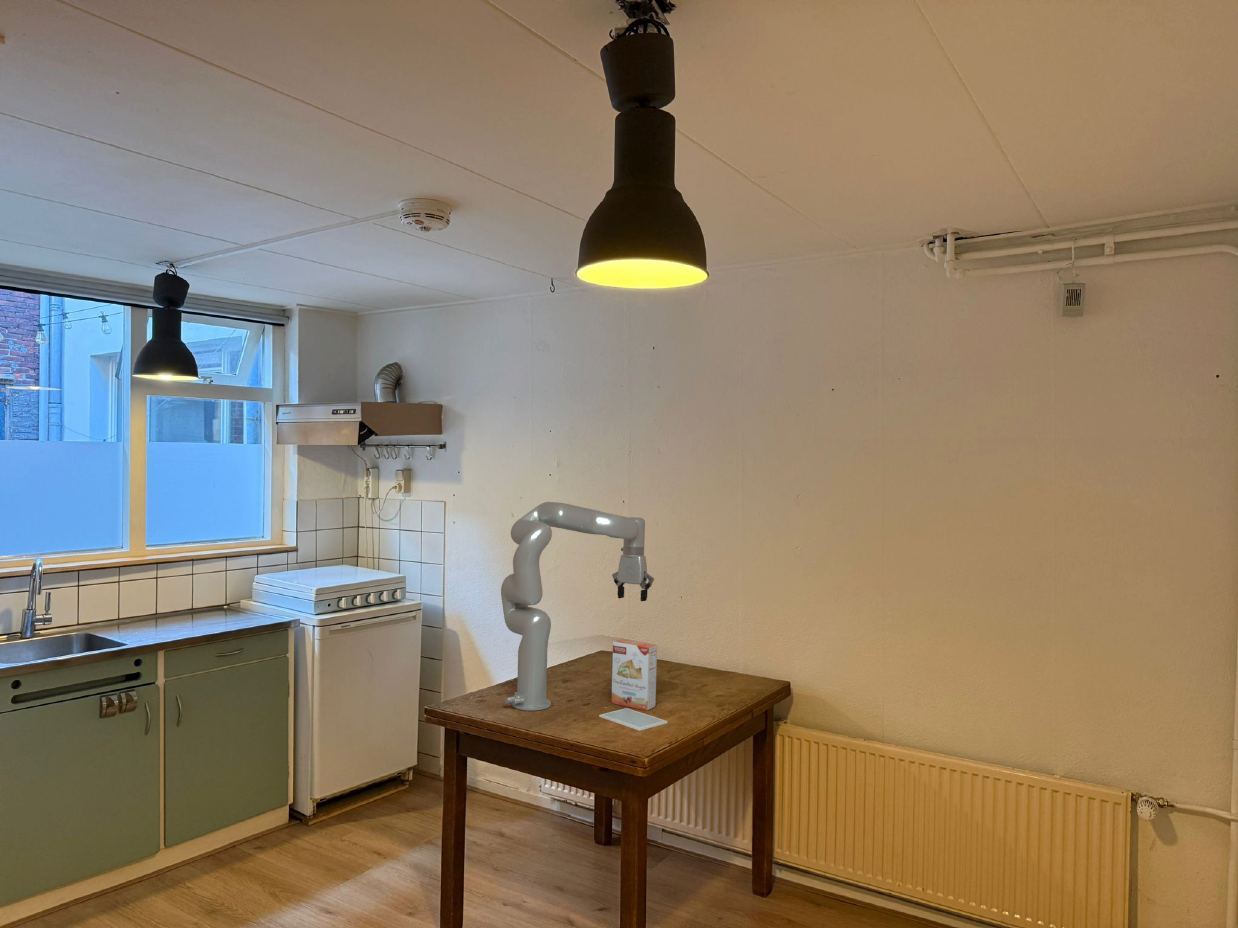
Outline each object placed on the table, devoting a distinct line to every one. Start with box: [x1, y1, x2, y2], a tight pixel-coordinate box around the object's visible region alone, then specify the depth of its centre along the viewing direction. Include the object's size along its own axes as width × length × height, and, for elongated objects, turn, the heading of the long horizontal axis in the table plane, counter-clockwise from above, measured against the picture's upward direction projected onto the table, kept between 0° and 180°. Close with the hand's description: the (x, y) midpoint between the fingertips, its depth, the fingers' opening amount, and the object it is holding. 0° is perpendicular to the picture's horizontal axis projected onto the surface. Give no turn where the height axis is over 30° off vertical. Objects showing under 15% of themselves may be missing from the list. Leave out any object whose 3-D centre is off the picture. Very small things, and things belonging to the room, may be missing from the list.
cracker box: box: [611, 638, 658, 711], centre depth 272 cm, size 14×6×21 cm, turn 58°
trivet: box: [599, 707, 668, 732], centre depth 256 cm, size 12×18×1 cm, turn 44°
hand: (632, 599), depth 297 cm, fingers open, 9 cm apart
